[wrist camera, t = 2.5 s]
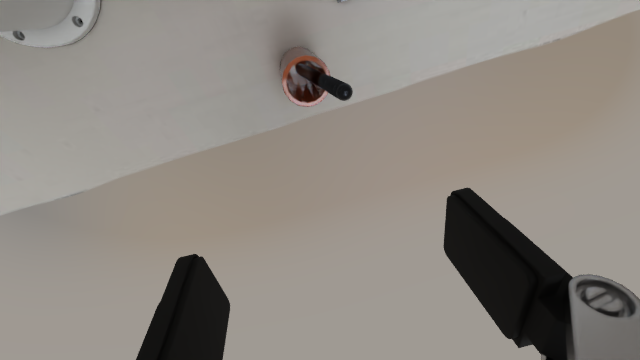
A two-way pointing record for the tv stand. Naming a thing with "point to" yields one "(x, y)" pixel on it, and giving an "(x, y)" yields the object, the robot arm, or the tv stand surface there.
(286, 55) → the pen cup
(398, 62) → the tv stand surface
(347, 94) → the stylus
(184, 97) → the tv stand surface
